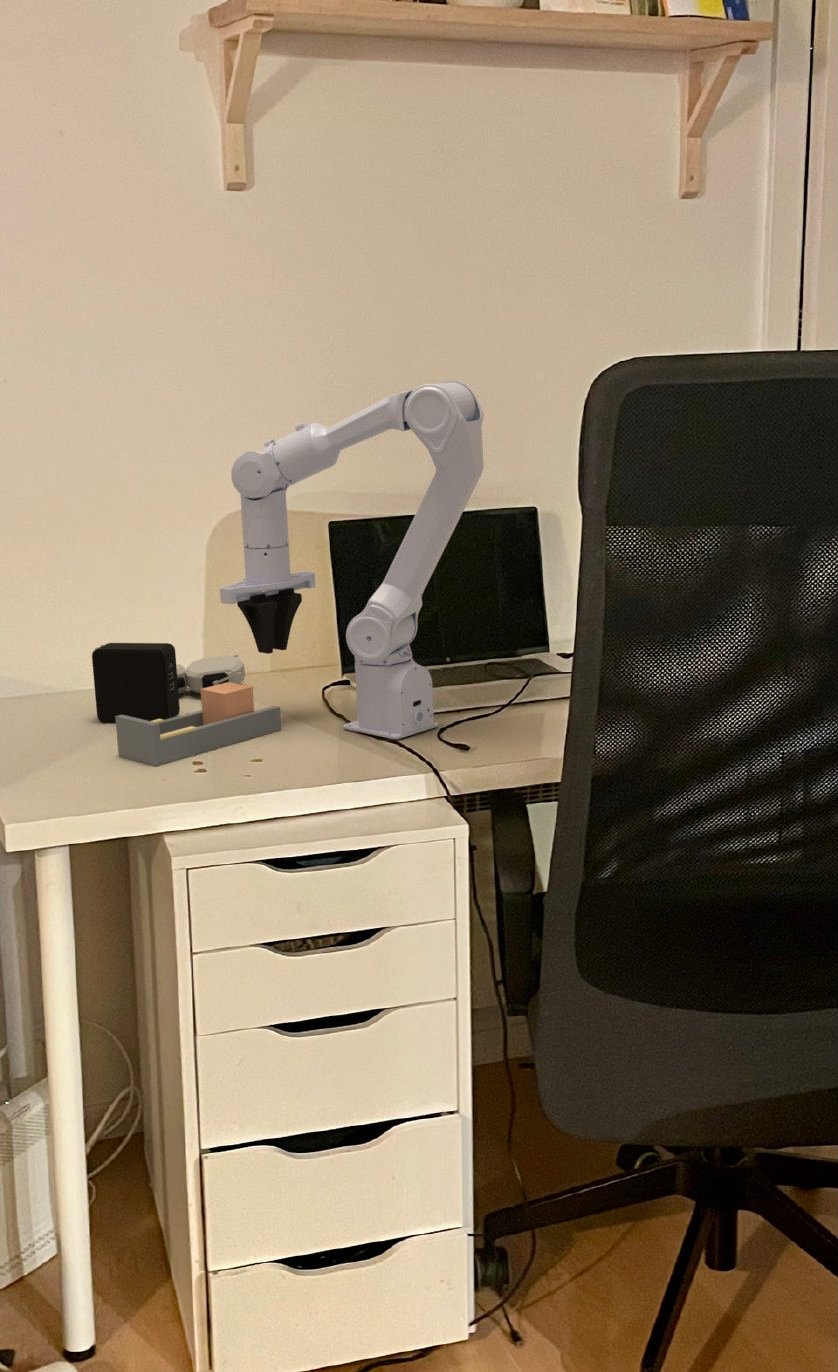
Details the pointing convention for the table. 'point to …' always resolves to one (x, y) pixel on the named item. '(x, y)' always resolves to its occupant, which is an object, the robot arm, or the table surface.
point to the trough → (188, 734)
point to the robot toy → (210, 673)
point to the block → (226, 701)
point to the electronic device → (135, 681)
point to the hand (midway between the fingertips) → (272, 650)
